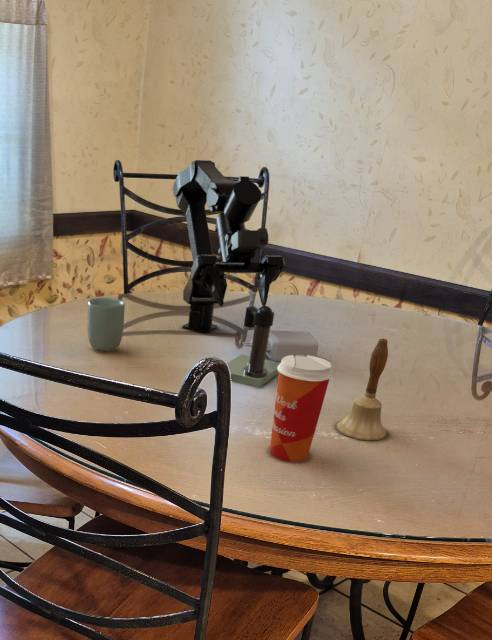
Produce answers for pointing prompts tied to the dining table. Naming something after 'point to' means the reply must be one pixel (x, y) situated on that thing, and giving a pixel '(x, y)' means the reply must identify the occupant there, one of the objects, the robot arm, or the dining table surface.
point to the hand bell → (368, 403)
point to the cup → (105, 323)
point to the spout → (258, 317)
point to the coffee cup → (298, 405)
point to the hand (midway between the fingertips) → (243, 305)
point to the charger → (289, 344)
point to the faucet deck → (249, 380)
